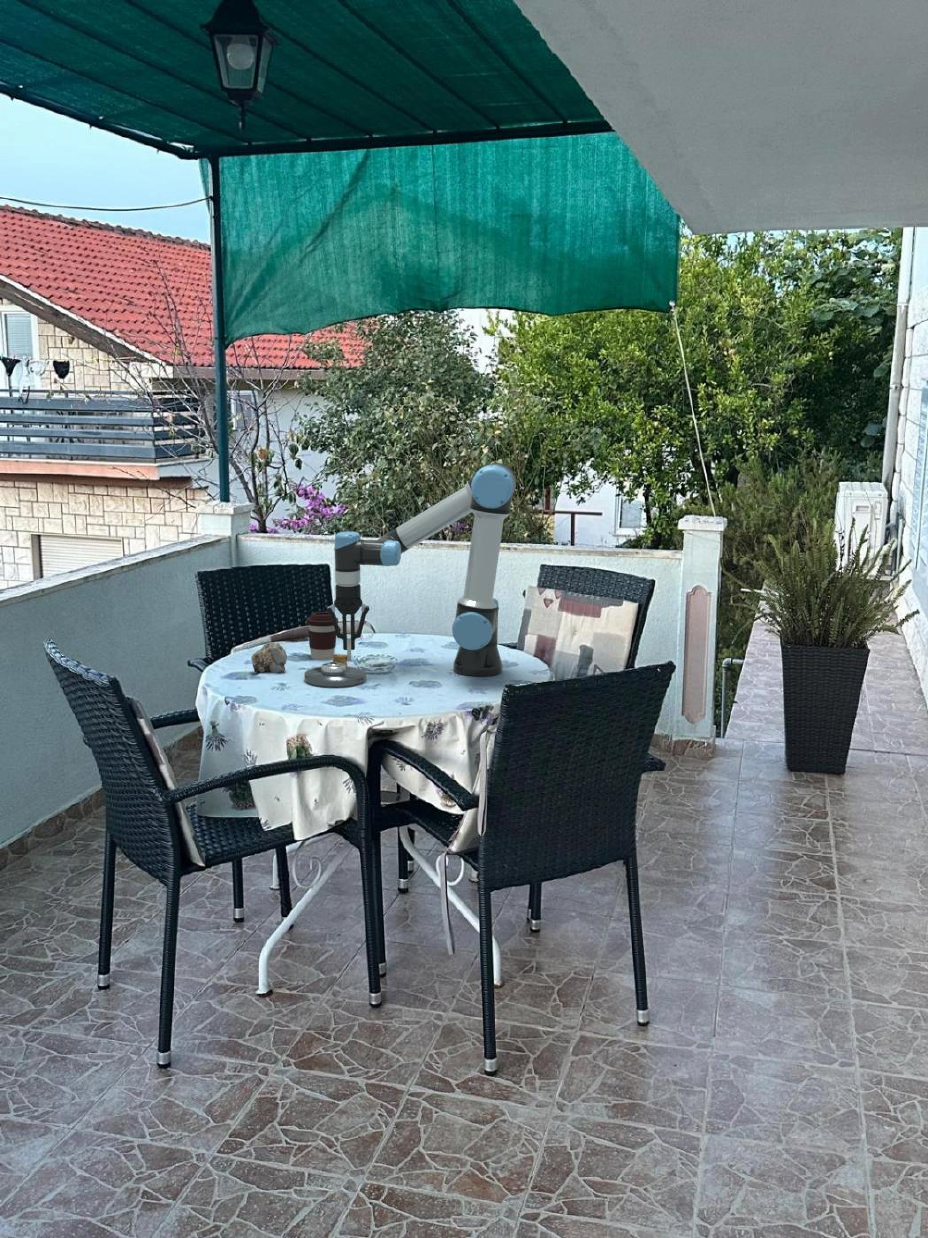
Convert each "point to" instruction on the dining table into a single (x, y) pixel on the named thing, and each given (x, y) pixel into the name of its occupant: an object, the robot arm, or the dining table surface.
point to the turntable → (347, 680)
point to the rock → (269, 658)
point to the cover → (333, 669)
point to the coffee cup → (321, 636)
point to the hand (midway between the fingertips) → (349, 660)
